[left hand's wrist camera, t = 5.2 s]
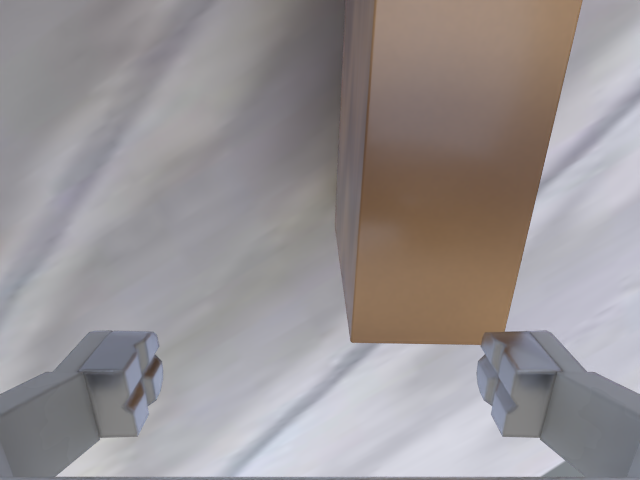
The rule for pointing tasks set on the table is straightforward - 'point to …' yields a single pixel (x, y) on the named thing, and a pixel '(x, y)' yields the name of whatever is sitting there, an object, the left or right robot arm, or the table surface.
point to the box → (442, 159)
